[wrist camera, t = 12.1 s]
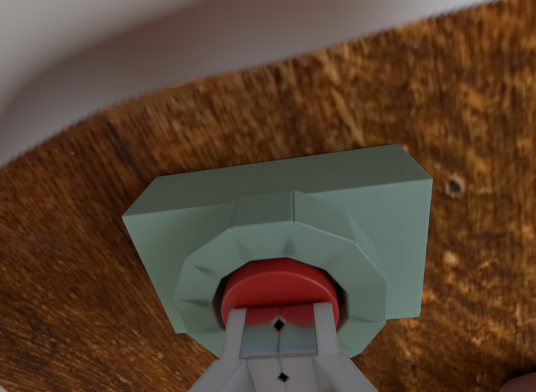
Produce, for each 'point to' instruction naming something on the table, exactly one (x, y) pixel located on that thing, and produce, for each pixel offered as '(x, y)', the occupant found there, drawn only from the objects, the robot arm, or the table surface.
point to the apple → (521, 384)
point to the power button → (277, 286)
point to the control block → (289, 235)
